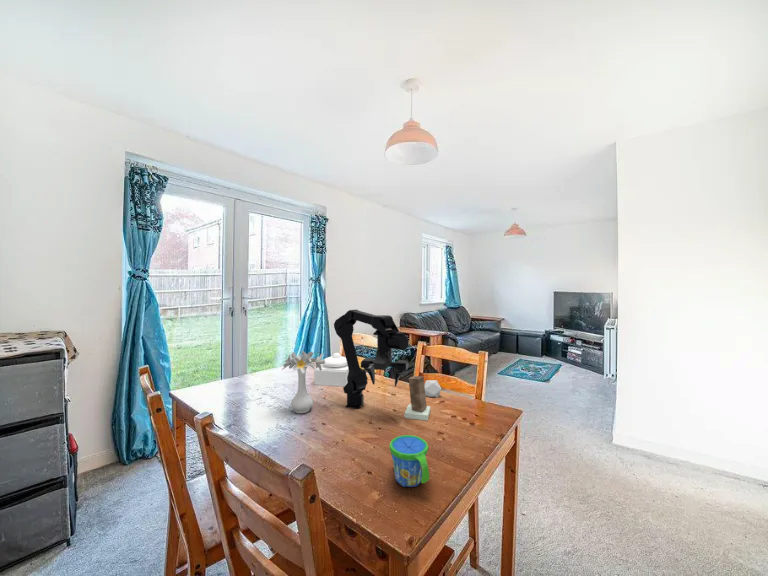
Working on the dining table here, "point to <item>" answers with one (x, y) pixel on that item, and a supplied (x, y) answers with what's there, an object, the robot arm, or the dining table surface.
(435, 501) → the dining table surface
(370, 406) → the dining table surface
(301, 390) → the flower vase
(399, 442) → the snack cup
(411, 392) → the pillar
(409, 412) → the top slab
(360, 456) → the dining table surface
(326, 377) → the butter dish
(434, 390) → the die
